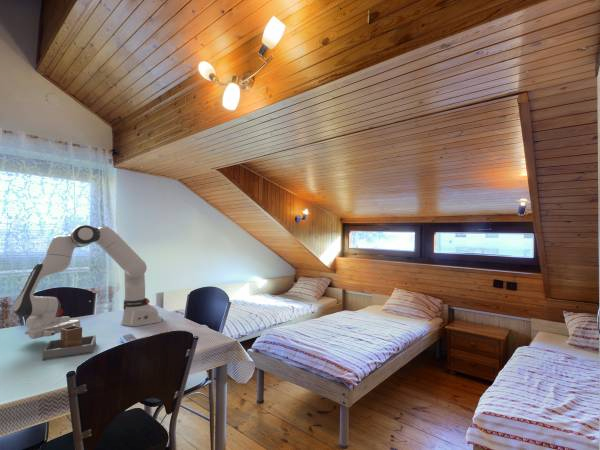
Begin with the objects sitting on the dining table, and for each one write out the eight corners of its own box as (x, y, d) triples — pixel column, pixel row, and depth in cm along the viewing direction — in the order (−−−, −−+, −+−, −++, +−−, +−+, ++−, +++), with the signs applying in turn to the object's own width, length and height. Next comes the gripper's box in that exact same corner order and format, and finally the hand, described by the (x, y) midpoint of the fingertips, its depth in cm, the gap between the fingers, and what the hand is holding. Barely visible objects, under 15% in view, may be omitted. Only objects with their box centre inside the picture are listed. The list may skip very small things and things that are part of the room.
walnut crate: (60, 350, 146) (60, 328, 146) (74, 346, 151) (75, 325, 152) (67, 353, 143) (67, 330, 143) (81, 348, 149) (82, 327, 149)
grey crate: (95, 343, 158) (95, 335, 158) (92, 353, 145) (92, 344, 145) (50, 349, 149) (50, 340, 149) (42, 360, 137) (42, 351, 137)
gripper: (23, 325, 148) (37, 330, 141) (71, 315, 166) (86, 319, 159) (22, 339, 148) (37, 344, 141) (71, 327, 166) (86, 331, 159)
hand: (63, 331), depth 151 cm, fingers open, 8 cm apart
